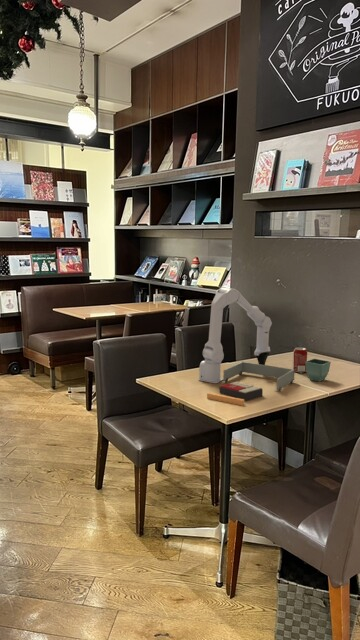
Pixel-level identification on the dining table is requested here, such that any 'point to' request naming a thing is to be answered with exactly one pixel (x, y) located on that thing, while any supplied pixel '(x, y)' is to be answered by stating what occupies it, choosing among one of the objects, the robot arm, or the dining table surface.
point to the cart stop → (225, 398)
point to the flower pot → (317, 369)
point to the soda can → (299, 359)
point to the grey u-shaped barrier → (261, 372)
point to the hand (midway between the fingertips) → (261, 367)
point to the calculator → (241, 391)
